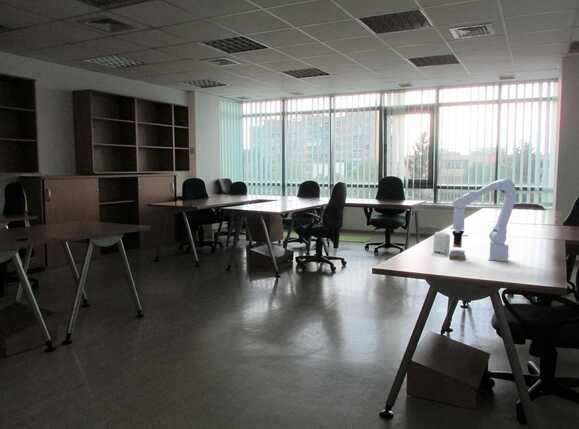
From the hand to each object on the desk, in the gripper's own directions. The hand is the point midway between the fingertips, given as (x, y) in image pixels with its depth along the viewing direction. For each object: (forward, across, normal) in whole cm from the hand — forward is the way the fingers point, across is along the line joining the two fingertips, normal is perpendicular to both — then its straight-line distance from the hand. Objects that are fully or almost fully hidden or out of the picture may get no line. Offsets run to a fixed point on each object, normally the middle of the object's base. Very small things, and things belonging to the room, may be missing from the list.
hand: (457, 244), depth 264 cm
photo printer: (+8, -16, -10) cm, 21 cm away
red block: (+2, 0, 0) cm, 2 cm away
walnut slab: (+9, 0, 0) cm, 9 cm away
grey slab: (+6, 0, 0) cm, 6 cm away
